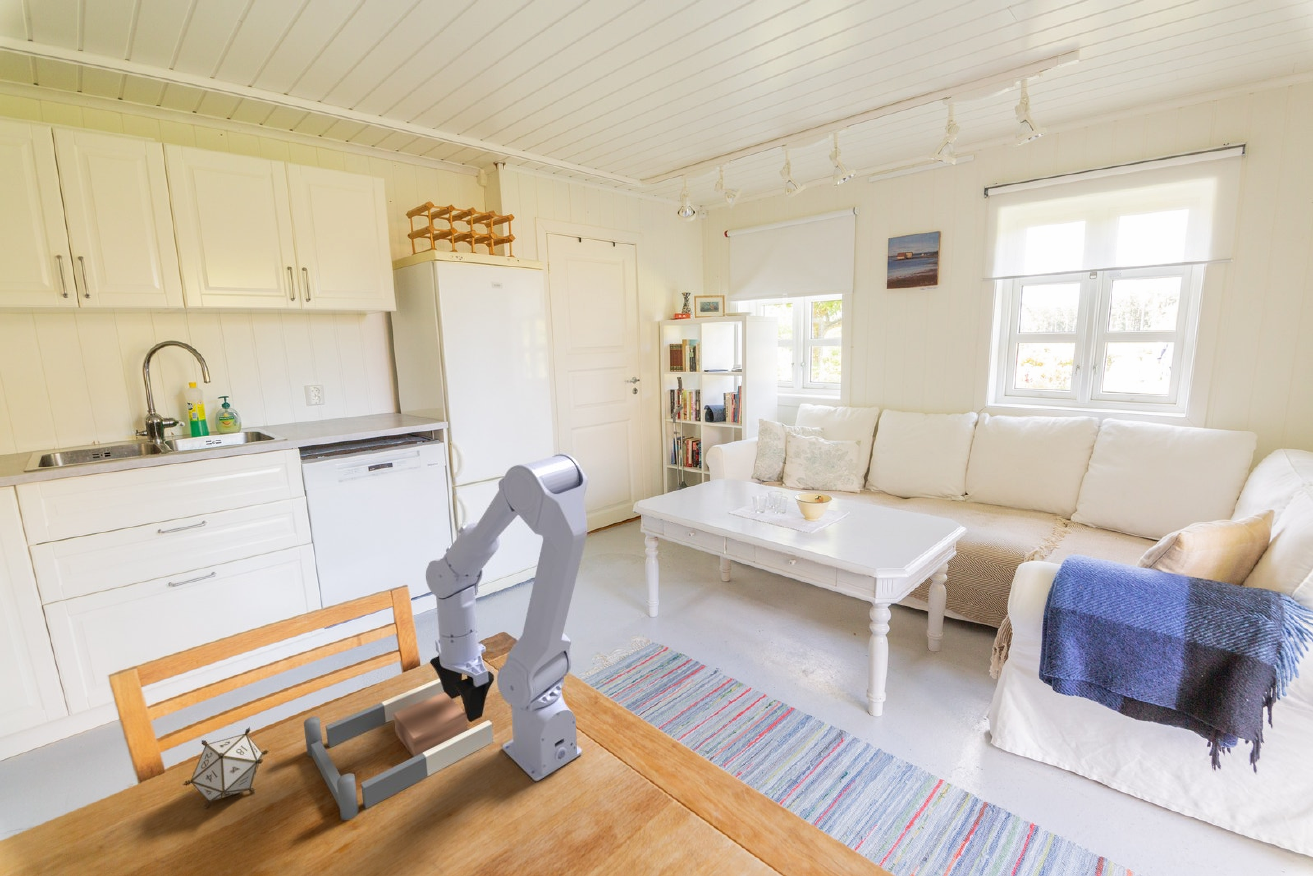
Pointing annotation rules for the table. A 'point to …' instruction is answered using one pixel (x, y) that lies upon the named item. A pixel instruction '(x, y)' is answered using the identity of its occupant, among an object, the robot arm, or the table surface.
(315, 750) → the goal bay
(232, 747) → the game die
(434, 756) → the lane walls
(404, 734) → the sliding block
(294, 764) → the table surface
